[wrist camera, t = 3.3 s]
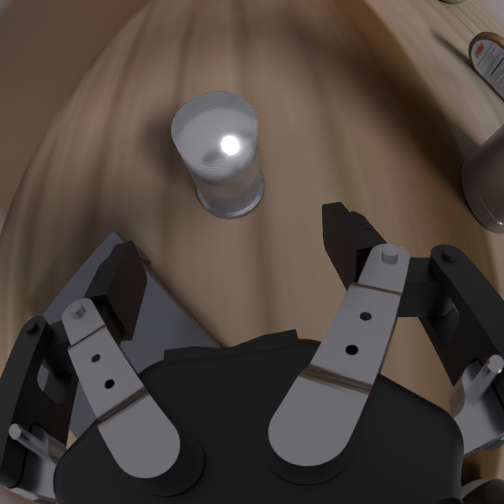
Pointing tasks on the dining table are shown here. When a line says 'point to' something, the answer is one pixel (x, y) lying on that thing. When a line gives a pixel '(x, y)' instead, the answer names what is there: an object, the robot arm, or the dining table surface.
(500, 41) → the tin
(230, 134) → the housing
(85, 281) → the stand
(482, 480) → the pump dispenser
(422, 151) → the dining table surface
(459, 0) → the fruit
